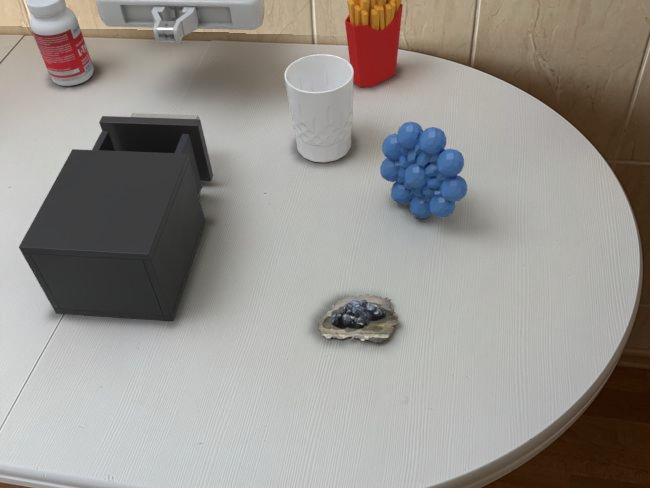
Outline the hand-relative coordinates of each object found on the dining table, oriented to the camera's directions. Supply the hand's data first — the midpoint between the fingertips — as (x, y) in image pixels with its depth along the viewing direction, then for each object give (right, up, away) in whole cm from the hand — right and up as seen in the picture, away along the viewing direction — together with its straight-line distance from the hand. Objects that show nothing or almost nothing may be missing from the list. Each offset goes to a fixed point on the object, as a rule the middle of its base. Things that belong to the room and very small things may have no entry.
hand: (166, 36), depth 81 cm
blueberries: (+22, -34, -11) cm, 41 cm away
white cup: (+18, -11, +7) cm, 22 cm away
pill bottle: (-18, +3, +19) cm, 26 cm away
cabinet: (-2, -27, -4) cm, 28 cm away
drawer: (-1, -19, +1) cm, 19 cm away
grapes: (+30, -20, -1) cm, 36 cm away
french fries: (+25, +2, +16) cm, 30 cm away
